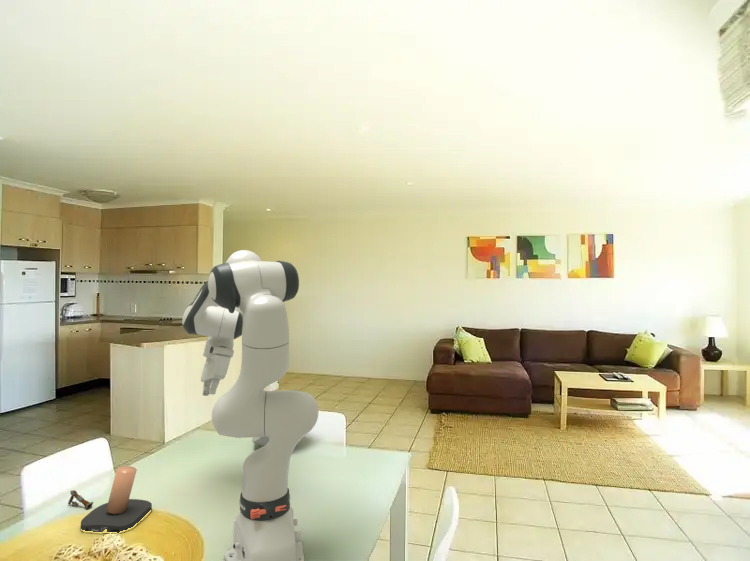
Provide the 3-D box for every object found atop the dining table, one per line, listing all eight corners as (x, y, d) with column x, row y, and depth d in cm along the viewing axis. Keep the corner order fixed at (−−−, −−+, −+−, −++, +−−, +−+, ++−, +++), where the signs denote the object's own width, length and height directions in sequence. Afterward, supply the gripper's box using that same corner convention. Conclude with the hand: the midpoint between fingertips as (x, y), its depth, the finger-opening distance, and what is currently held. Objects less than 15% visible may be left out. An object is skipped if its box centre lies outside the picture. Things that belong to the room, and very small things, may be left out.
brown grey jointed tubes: (69, 500, 132) (74, 487, 132) (88, 514, 130) (93, 501, 130) (63, 503, 131) (68, 489, 130) (82, 517, 129) (88, 504, 128)
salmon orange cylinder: (117, 515, 120) (127, 475, 120) (101, 510, 121) (112, 470, 121) (130, 508, 125) (140, 469, 125) (115, 502, 126) (125, 464, 126)
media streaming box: (156, 508, 130) (157, 498, 130) (128, 536, 116) (128, 524, 116) (108, 507, 131) (108, 497, 131) (73, 534, 116) (73, 523, 116)
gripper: (201, 354, 154) (192, 395, 149) (215, 346, 137) (205, 391, 132) (219, 358, 157) (211, 397, 152) (235, 350, 140) (226, 395, 135)
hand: (208, 395), depth 142 cm, fingers open, 8 cm apart
